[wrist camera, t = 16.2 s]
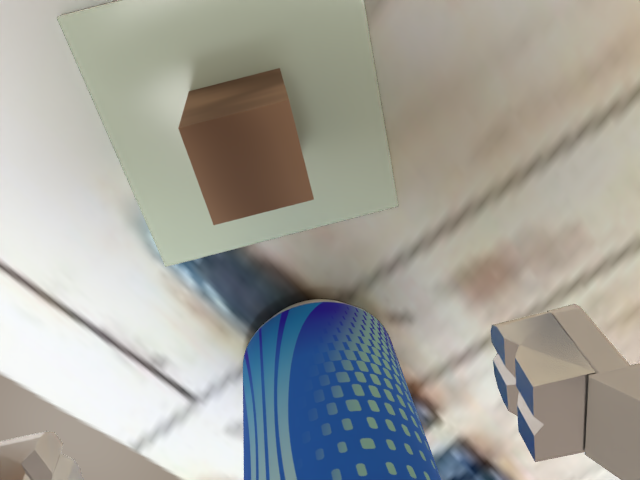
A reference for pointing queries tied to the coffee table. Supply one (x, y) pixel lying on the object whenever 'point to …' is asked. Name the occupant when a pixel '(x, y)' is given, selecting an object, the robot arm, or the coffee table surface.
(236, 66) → the sage tile
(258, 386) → the beer can
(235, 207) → the walnut block
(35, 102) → the coffee table surface
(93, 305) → the coffee table surface
